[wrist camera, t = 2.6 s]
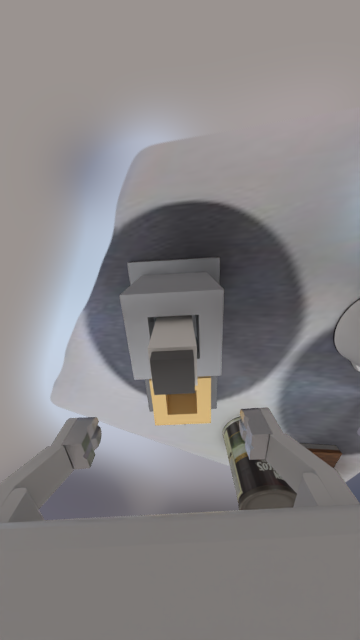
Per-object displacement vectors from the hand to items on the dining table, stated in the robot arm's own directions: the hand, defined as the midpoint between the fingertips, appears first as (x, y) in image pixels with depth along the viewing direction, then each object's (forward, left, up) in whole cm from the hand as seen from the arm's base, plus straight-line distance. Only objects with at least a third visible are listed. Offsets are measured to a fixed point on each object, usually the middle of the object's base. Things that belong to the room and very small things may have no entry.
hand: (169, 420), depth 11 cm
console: (0, +8, -24) cm, 25 cm away
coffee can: (-14, +33, -24) cm, 43 cm away
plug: (0, 0, -14) cm, 14 cm away
